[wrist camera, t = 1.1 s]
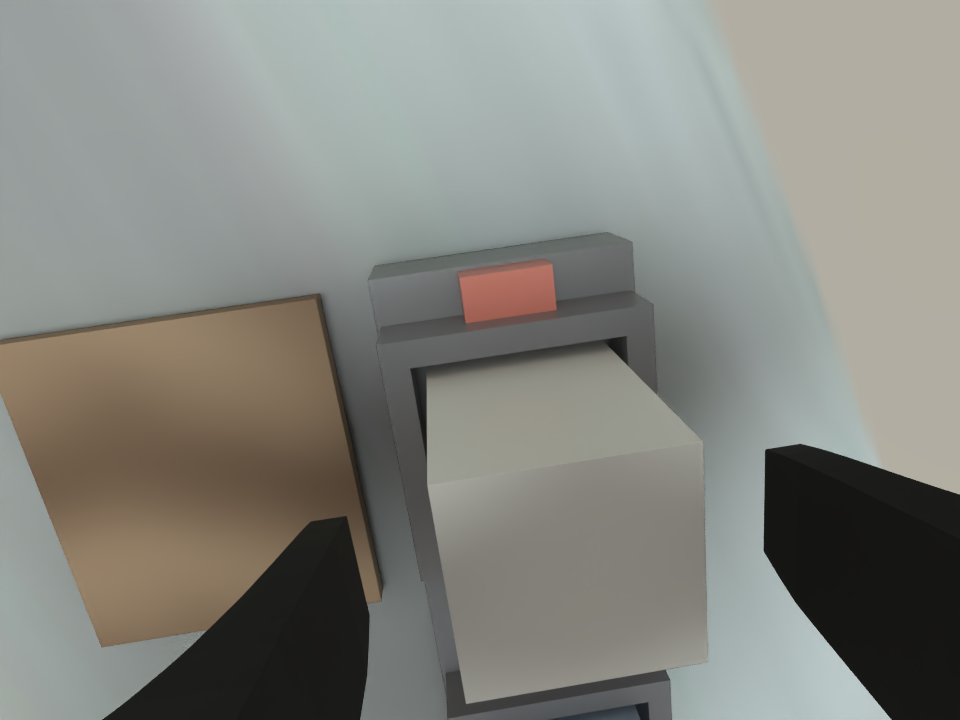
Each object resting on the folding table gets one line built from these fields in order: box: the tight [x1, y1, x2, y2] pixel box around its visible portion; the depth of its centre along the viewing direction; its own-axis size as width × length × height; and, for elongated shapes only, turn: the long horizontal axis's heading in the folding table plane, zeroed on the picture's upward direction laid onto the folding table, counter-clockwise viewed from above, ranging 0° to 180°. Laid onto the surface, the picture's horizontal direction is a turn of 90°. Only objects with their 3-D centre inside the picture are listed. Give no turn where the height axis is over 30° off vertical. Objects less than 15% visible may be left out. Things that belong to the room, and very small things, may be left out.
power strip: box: [368, 232, 672, 720], centre depth 18 cm, size 24×6×4 cm, turn 7°
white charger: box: [427, 340, 708, 704], centre depth 12 cm, size 4×4×6 cm
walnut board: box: [0, 294, 383, 647], centre depth 17 cm, size 9×8×1 cm
